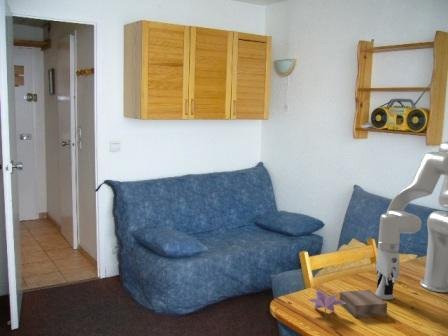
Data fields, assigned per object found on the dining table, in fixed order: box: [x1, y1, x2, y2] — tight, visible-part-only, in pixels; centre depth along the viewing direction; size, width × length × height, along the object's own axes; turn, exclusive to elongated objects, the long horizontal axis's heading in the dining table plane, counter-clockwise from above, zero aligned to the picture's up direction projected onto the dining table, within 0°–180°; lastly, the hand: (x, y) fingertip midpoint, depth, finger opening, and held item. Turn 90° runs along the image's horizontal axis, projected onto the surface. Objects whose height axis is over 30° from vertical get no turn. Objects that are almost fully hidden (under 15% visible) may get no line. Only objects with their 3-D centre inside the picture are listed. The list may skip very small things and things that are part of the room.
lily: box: [307, 289, 346, 321], centre depth 163 cm, size 12×12×10 cm
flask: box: [374, 275, 395, 301], centre depth 181 cm, size 7×7×10 cm
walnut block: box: [339, 289, 388, 319], centre depth 169 cm, size 12×12×5 cm
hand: (384, 291), depth 181 cm, fingers closed on flask, 4 cm apart
